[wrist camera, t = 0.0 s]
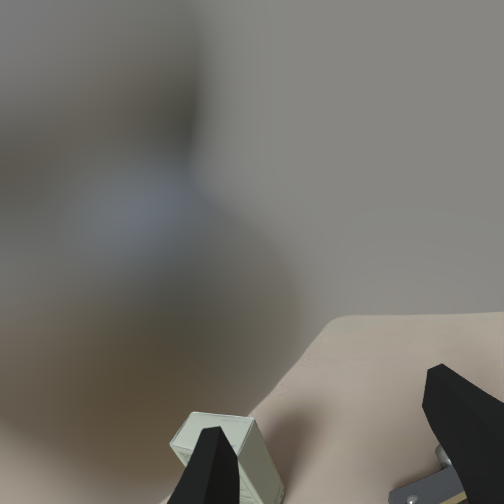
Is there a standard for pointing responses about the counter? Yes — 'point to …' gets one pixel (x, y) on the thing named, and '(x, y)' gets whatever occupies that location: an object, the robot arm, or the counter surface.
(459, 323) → the counter surface
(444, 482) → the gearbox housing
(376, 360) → the counter surface
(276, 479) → the skincare box
